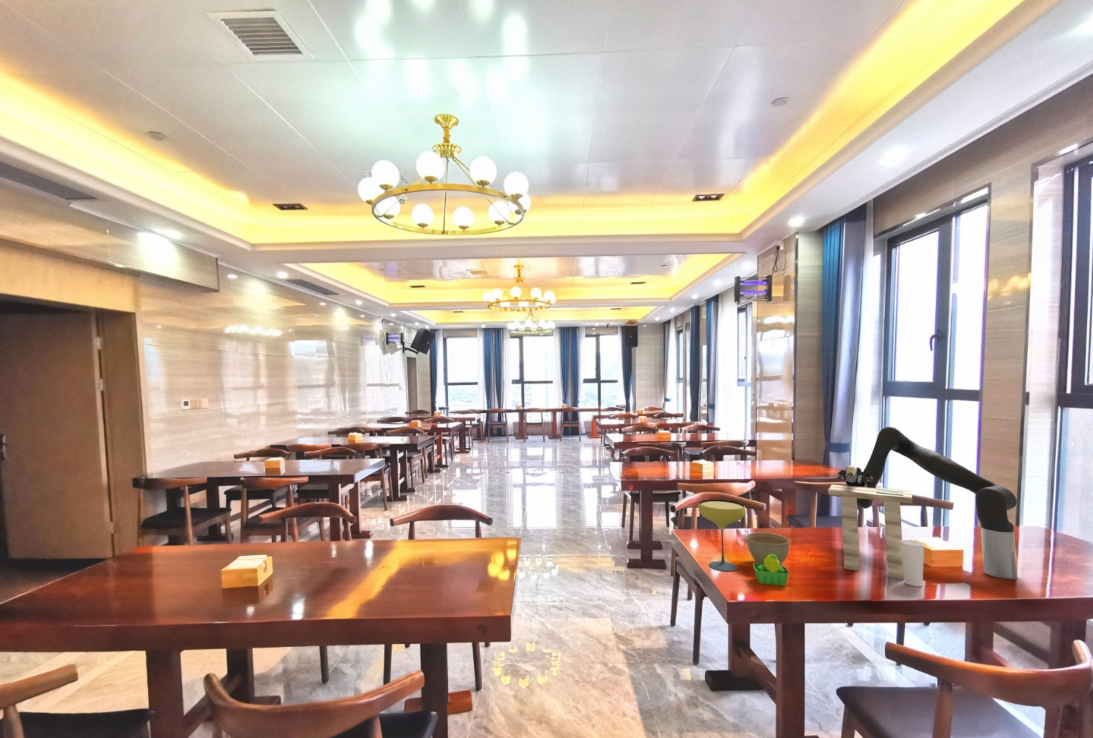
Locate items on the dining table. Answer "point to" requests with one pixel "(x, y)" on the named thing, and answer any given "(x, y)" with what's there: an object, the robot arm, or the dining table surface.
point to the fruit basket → (771, 571)
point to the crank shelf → (891, 523)
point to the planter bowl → (767, 546)
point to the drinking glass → (912, 562)
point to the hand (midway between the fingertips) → (853, 469)
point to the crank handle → (851, 473)
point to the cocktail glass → (722, 522)
